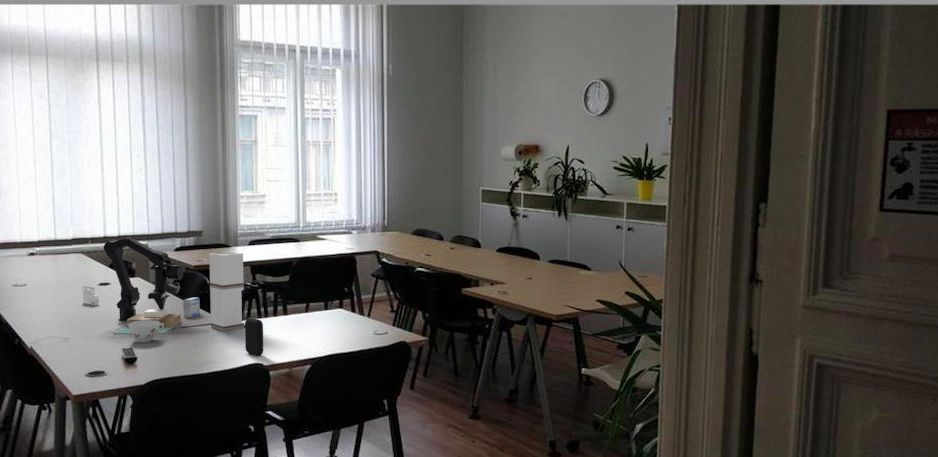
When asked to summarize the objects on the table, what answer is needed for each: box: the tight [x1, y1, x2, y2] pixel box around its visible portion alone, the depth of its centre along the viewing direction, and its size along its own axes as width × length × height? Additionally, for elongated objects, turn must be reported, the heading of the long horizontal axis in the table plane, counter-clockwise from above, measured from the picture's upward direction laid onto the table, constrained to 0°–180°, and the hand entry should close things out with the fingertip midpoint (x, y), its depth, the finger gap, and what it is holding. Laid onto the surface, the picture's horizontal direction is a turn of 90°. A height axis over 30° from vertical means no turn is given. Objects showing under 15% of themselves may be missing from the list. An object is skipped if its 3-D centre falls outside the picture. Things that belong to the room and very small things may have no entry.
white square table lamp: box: [209, 251, 245, 332], centre depth 369 cm, size 11×11×35 cm
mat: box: [113, 326, 173, 335], centre depth 362 cm, size 22×12×1 cm, turn 91°
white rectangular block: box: [143, 308, 169, 317], centre depth 376 cm, size 9×6×2 cm, turn 91°
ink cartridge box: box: [82, 285, 100, 306], centre depth 426 cm, size 2×11×10 cm, turn 57°
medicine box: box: [182, 296, 201, 318], centre depth 397 cm, size 8×4×9 cm, turn 168°
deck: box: [126, 313, 182, 329], centre depth 374 cm, size 20×14×4 cm
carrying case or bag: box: [243, 317, 264, 357], centre depth 319 cm, size 11×3×15 cm, turn 54°
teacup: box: [128, 320, 164, 343], centre depth 342 cm, size 15×12×8 cm
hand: (161, 310), depth 384 cm, fingers closed
